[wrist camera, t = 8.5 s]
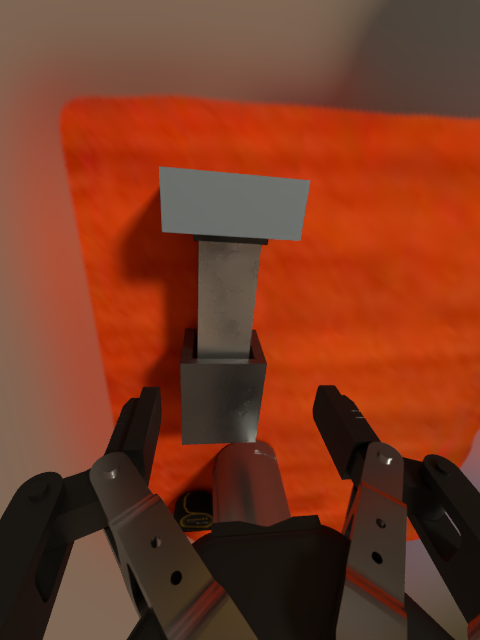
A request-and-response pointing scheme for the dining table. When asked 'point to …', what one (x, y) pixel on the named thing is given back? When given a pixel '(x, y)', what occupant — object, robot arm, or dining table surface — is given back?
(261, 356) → the sleeve
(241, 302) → the light grey square bar
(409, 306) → the dining table surface
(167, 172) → the grey block
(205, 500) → the tape measure
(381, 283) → the dining table surface
